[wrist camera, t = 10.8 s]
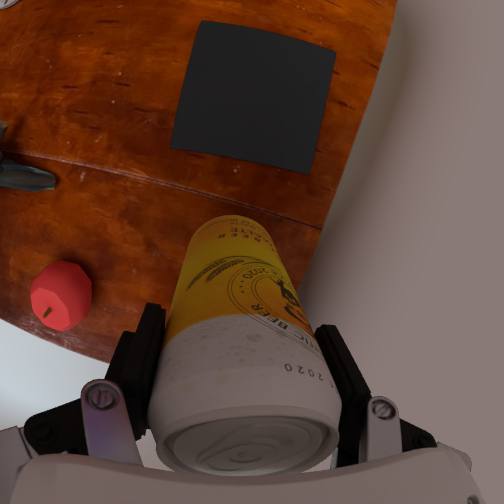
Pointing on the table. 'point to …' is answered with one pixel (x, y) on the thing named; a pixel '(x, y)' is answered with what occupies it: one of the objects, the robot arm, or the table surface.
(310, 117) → the mat
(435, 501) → the robot arm
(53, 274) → the apple
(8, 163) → the bird figurine
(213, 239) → the beer can
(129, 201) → the table surface
